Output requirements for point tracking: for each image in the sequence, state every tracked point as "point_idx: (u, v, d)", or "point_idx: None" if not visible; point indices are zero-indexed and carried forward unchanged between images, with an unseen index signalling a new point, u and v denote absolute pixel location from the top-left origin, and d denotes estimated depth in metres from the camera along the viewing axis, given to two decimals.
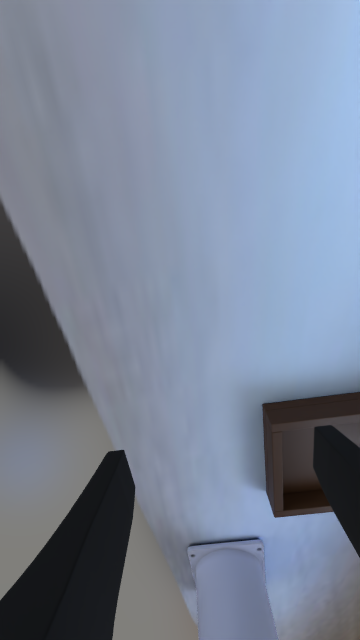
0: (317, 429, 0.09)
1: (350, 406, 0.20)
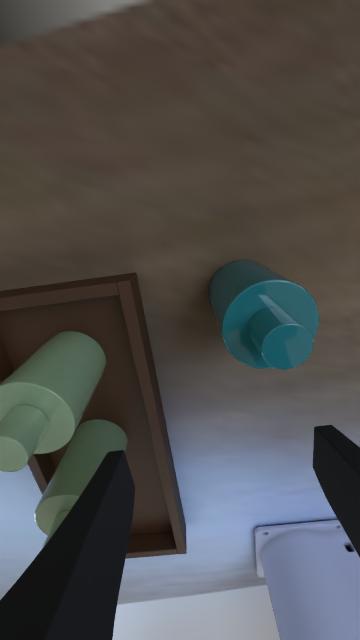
0: (317, 429, 0.09)
1: None
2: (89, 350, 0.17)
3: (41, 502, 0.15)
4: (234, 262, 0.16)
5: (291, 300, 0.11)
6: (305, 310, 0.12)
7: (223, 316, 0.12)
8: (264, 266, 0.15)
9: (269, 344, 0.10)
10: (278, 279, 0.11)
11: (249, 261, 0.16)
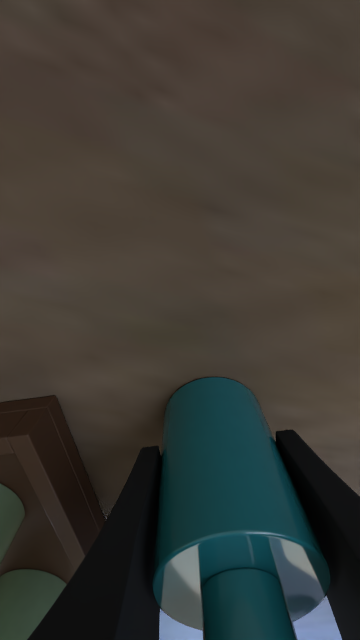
0: (277, 434, 0.09)
1: None
2: None
3: None
4: (197, 384, 0.11)
5: (278, 558, 0.06)
6: (305, 570, 0.06)
7: (153, 571, 0.06)
8: (240, 405, 0.10)
9: None
10: (251, 528, 0.06)
11: (219, 386, 0.11)
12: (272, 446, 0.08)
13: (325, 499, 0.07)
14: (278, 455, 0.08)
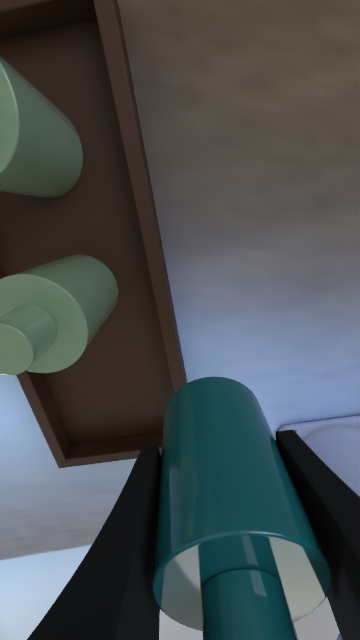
0: (277, 434, 0.09)
1: None
2: (55, 106, 0.12)
3: None
4: (198, 384, 0.11)
5: (278, 558, 0.06)
6: (306, 570, 0.06)
7: (153, 571, 0.06)
8: (240, 405, 0.10)
9: None
10: (252, 528, 0.06)
11: (219, 386, 0.10)
12: (272, 446, 0.08)
13: (325, 499, 0.07)
14: (278, 455, 0.08)
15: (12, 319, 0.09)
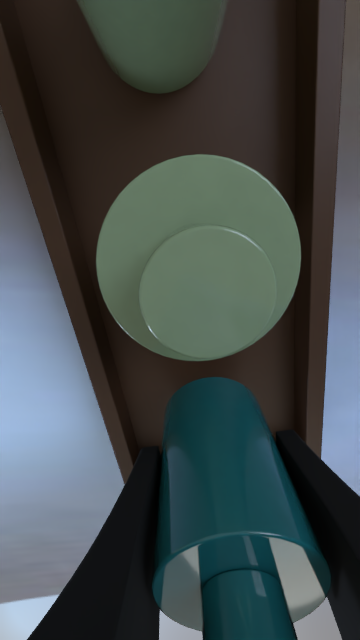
0: (277, 433, 0.09)
1: None
2: None
3: (119, 194, 0.05)
4: (197, 384, 0.11)
5: (278, 559, 0.06)
6: (306, 571, 0.06)
7: (153, 572, 0.06)
8: (240, 405, 0.10)
9: None
10: (251, 529, 0.06)
11: (219, 386, 0.10)
12: (272, 446, 0.08)
13: (325, 499, 0.07)
14: (278, 455, 0.08)
15: None
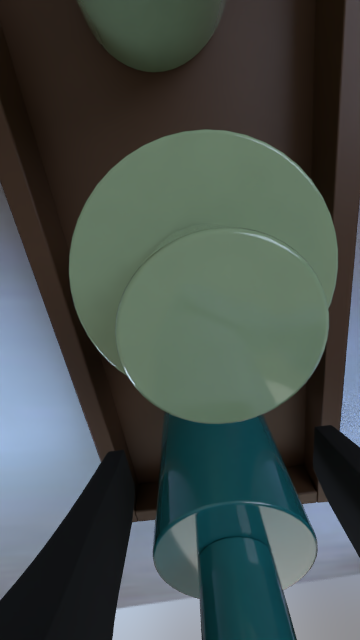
0: (317, 429, 0.09)
1: None
2: None
3: (97, 185, 0.04)
4: None
5: (268, 527, 0.06)
6: (293, 539, 0.07)
7: (154, 541, 0.07)
8: None
9: None
10: (243, 498, 0.06)
11: None
12: (265, 431, 0.09)
13: None
14: (271, 439, 0.09)
15: None
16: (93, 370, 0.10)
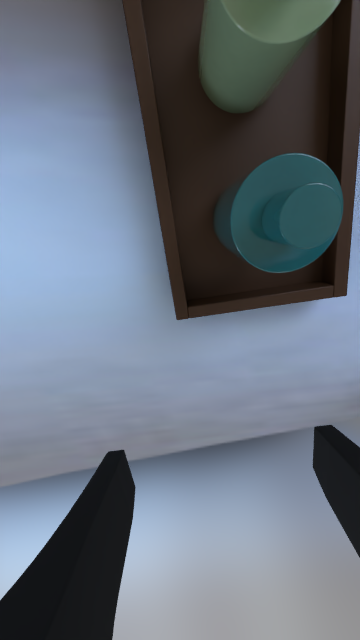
0: (317, 429, 0.09)
1: None
2: None
3: None
4: None
5: (311, 180, 0.10)
6: None
7: (231, 205, 0.10)
8: None
9: (289, 213, 0.08)
10: (296, 153, 0.10)
11: None
12: None
13: None
14: None
15: None
16: (165, 162, 0.14)
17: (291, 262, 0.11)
